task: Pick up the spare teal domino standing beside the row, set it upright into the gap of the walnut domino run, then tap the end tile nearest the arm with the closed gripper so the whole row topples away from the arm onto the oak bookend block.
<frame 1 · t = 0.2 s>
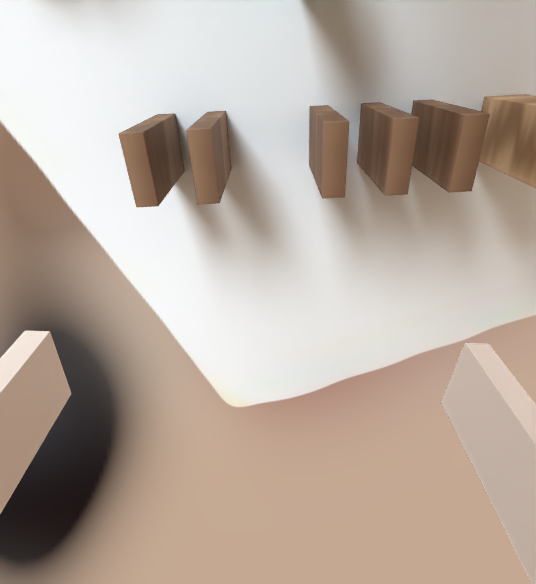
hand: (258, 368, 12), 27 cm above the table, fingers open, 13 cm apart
domino 5: (367, 133, 34), on the table
domino 1: (171, 143, 34), on the table
end block: (497, 127, 33), on the table
domino 2: (219, 141, 34), on the table
domino 4: (318, 136, 34), on the table
domino 6: (417, 131, 34), on the table
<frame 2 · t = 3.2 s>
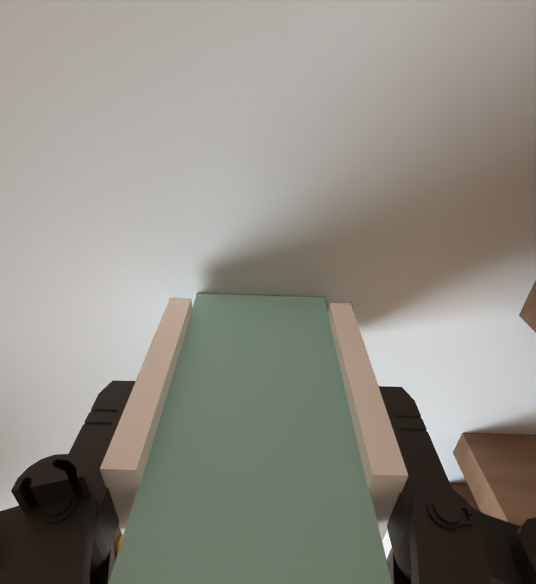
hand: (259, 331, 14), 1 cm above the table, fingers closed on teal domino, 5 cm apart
teal domino: (260, 311, 15), on the table, touching gripper
domino 2: (504, 444, 19), on the table
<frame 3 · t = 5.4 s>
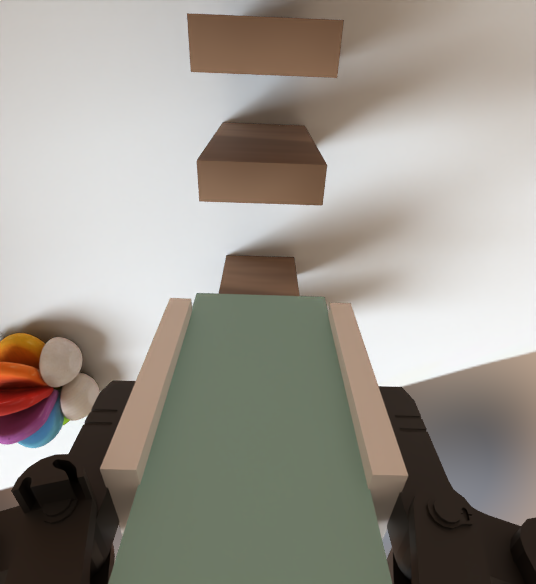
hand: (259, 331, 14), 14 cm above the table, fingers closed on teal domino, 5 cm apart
domino 5: (265, 52, 21), on the table
colorful disc cluster: (50, 363, 34), on the table
teal domino: (260, 311, 15), point 12 cm above the table, touching gripper
domino 2: (260, 265, 28), on the table
domino 4: (263, 137, 23), on the table
when the fingers open (2 cm above the table, at t = 7.7 s): teal domino stays where it is, on the table.
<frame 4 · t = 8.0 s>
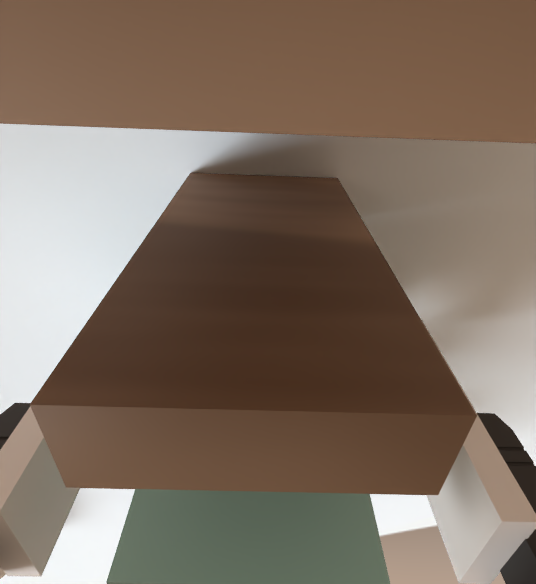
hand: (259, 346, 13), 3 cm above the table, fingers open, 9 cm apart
domino 5: (268, 45, 11), on the table
teal domino: (260, 304, 15), on the table
domino 4: (263, 198, 13), on the table
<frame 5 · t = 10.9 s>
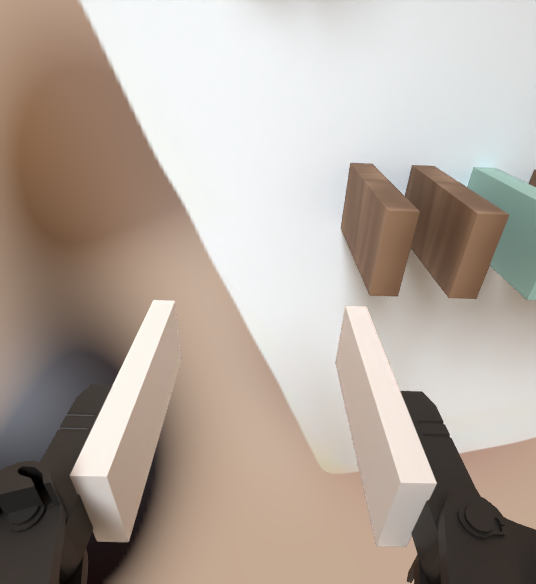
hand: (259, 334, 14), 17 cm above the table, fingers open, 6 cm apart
domino 1: (355, 197, 28), on the table
teal domino: (473, 201, 28), on the table
domino 2: (414, 199, 28), on the table
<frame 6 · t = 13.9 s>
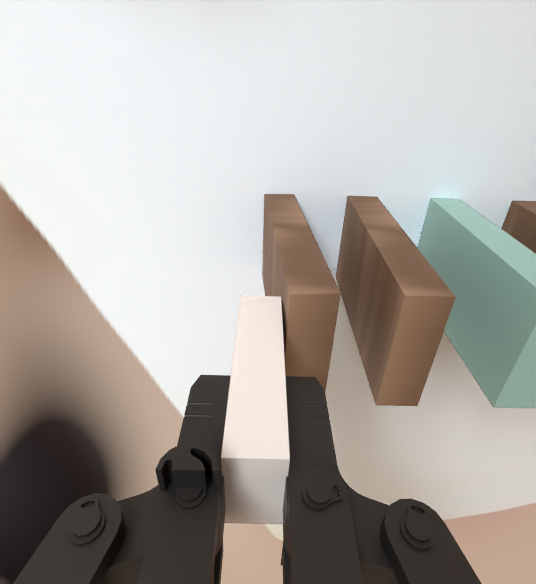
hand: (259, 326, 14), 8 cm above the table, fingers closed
domino 1: (277, 237, 21), on the table, tilted 5°
teal domino: (433, 240, 22), on the table
domino 2: (355, 239, 21), on the table
domino 4: (509, 243, 22), on the table
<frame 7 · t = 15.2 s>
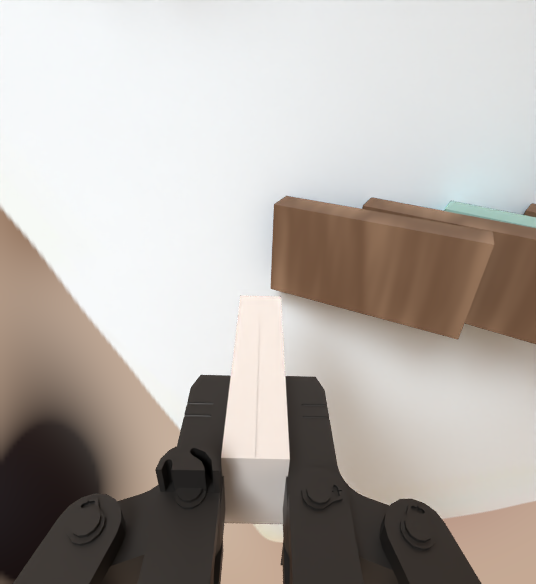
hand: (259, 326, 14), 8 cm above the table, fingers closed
domino 1: (278, 243, 21), point 1 cm above the table, tilted 65°, touching domino 2
teal domino: (435, 247, 21), point 1 cm above the table, tilted 57°, touching domino 2, domino 4
domino 2: (359, 244, 21), point 1 cm above the table, tilted 61°, touching domino 1, teal domino
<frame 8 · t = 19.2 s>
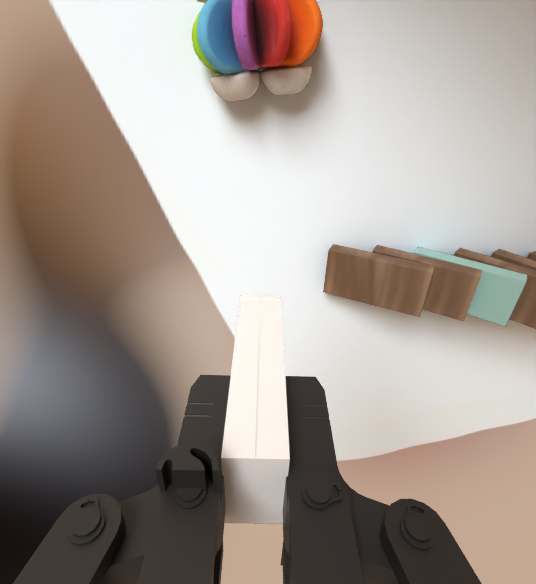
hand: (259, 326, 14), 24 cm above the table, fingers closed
domino 5: (487, 271, 40), on the table, tilted 40°, touching domino 4, domino 6
colorful disc cluster: (257, 35, 30), on the table
domino 1: (328, 268, 40), point 1 cm above the table, tilted 65°, touching domino 2
teal domino: (410, 270, 40), point 1 cm above the table, tilted 57°, touching domino 2, domino 4
domino 2: (370, 269, 40), point 1 cm above the table, tilted 61°, touching domino 1, teal domino
domino 4: (450, 271, 40), point 1 cm above the table, tilted 49°, touching domino 5, teal domino
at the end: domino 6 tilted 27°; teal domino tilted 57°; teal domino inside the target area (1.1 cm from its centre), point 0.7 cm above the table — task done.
